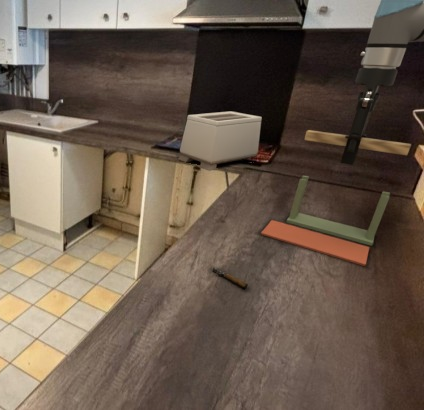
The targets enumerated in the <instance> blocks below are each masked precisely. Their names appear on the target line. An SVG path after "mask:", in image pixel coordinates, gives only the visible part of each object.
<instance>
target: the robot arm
mask: <svg viewBox="0 0 424 410" xmlns="http://www.w3.org/2000/svg"><path fill="white" fill-rule="evenodd" d="M373 18H374V19H373V22H372V26H371V29H370V32H369V36H368V39H367V43H366V45H365V49H364V51H362V52H361V53H360V56H361V57H362V58H361V62H360V65H361V66H362V67H360V68H359V69H358V71H357V74H356V77H355V80H354V83H355V84H357V85H362V86H365V87H364V91H360V92H359V94H358V97H357V100H358V101H357V104H356V107H355V115H354V117H353V120H352V124H351V128H350V131H349V133H348V136H345V138H347V139H348V140H347V143H346V146H344V150H343V153H342V156H341V160H340V162H339V163H340V164H344V165H349V166H350V165H351V166H353V165H354V163H355V162H356V158H357V155H358V152H359V149H360V148H359V145H360V142H361V140H360V139H361V138H362V137H363V138H367V134H366V129H367V125H368V123H369V119H370V117H371V114H372V112H374V110H375V107H376V106H377V105H376V104H377V102H378V101H379V99H380V97H381V93H379V92H378V91H379V87H390V86H394V83H395V80H396V78H397V74H398V69H397V68H398V67H400V66H401V64H402V61H403V60H404V59H403V58H404V55H405V53H406V51H407V47H408V44H409V43H418V42H419V43H421V42H422V43H423V42H424V0H380V2H379V5H378V7H377V9H376V12H375V15H374V17H373Z"/></svg>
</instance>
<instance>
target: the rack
mask: <svg viewBox="0 0 424 410" xmlns="http://www.w3.org/2000/svg"><path fill="white" fill-rule="evenodd" d="M309 179H310V176H308V175H302V176H301V178H299V180H298V181H299V182H298V184H297V188H296V192H295V195H294V198H293V202H292V206H291V209H290V213H289V216H288V218H287V219H286V223H285V224H289V225H293V226H296V227H300V228H304V229H307V230H311V231H314V232H318V233H322V234H325V235H329V236H333V237H336V238H340V239H343V240H347V241H351V242H354V243H358V244H362V245H365V246H369V247H373V245H374V242H375V241H374V240H375V237H376V234H377V230H378V228H379V226H380V223H381V221H382V219H383V215H384V212H385V210H386V207H387V205H388V203H389V200H390V196H391V192H388V191H382V192H381V195H380V196H379V199H378V203H377V205H376V208H375V210H374V213H373V215H372V217H371V218H372V219H371V221H370V224H369V226H368V228H367V229H363V228H359V227H356V226H352V225H347V224H344V223H340V222H336V221H333V220H328V219H324V218H320V217H317V216H312V215H309V214H305V213H301V212H300V210H301V207H302V203H303V199H304V196H305V192H306V189H307V185H308V182H309Z"/></svg>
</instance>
